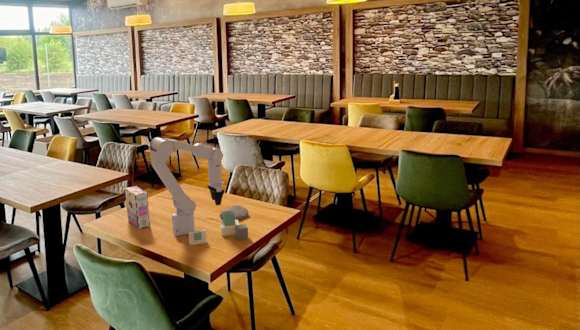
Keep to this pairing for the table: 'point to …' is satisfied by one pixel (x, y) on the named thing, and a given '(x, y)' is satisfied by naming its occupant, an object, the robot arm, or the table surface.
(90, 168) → the table surface
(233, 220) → the teal block
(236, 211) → the stone block
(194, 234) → the placard
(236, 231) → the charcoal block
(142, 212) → the candy box
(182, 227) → the robot arm
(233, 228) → the cream base block
